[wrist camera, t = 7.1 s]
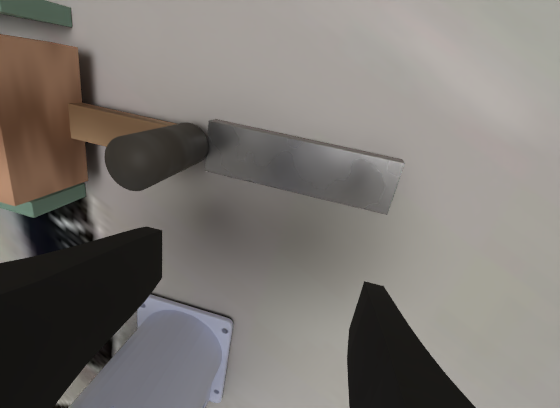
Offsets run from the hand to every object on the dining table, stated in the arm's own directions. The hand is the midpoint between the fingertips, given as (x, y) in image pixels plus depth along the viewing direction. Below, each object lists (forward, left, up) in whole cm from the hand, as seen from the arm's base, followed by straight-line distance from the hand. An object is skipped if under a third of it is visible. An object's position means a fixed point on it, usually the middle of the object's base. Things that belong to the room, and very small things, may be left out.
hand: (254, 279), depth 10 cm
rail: (+2, 0, -9) cm, 9 cm away
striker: (+2, +11, -8) cm, 13 cm away
